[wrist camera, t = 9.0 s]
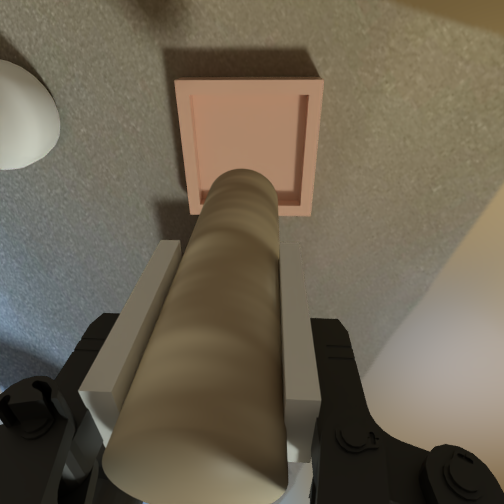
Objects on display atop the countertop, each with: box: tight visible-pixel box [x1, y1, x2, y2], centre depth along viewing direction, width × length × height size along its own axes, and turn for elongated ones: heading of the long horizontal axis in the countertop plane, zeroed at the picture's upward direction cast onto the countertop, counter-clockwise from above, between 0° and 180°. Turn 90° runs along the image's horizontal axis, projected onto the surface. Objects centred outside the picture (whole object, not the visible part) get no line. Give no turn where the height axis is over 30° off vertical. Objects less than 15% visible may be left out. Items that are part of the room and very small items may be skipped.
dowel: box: [102, 169, 288, 504], centre depth 13 cm, size 4×4×14 cm
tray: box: [174, 77, 324, 216], centre depth 28 cm, size 11×11×2 cm
